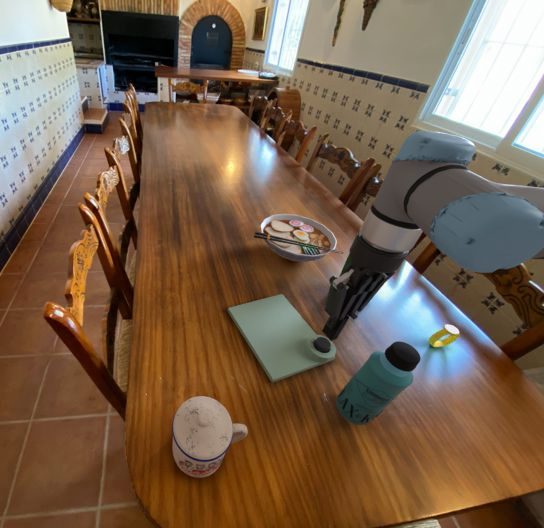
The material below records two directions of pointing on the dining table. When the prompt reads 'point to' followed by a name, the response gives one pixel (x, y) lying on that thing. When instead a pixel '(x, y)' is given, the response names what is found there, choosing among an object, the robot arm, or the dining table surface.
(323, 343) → the button
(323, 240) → the ramen bowl
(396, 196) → the robot arm
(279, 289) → the dining table surface
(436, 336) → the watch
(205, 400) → the teacup with lid
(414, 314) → the dining table surface
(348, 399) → the beverage bottle
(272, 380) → the scale
